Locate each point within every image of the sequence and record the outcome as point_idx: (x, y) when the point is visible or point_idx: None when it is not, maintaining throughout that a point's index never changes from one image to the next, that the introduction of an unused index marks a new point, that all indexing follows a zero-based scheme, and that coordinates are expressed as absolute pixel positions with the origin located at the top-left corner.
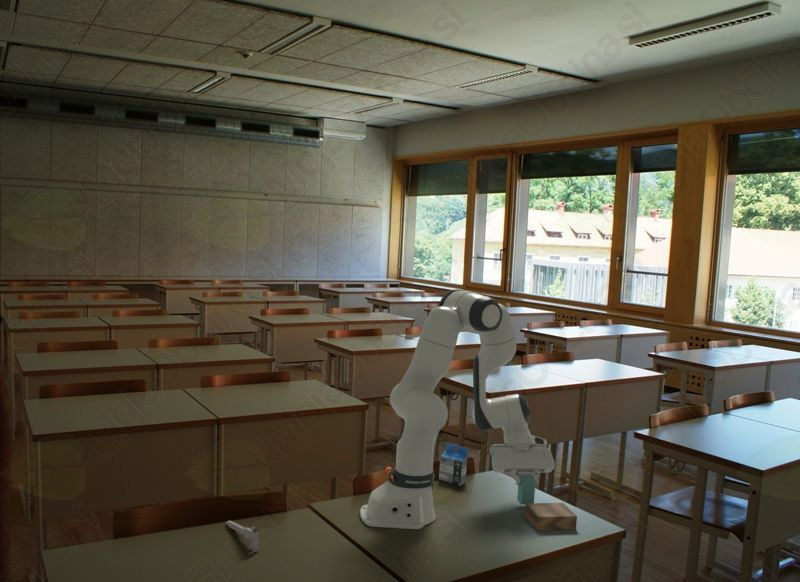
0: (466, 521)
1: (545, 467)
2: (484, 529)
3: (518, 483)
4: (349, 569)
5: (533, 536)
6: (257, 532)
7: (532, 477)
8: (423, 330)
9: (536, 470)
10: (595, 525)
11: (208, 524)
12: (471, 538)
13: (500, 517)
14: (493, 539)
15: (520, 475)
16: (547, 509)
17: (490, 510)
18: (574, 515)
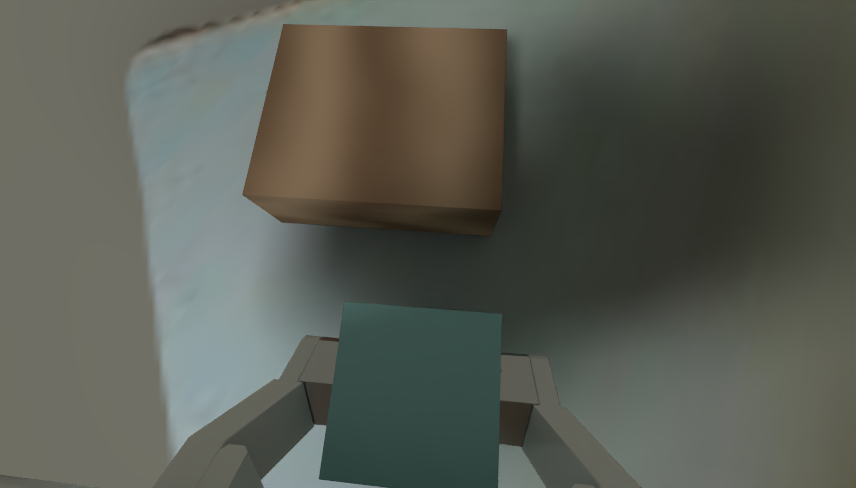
0: (853, 214)
1: (1, 483)
2: (761, 118)
3: (534, 356)
4: None
5: (539, 38)
6: None
7: (349, 374)
8: None
9: (209, 479)
10: (196, 104)
11: None
12: (841, 45)
13: (637, 240)
14: (735, 29)
15: (482, 477)
16: (400, 114)
17: (675, 344)
18: (291, 31)
